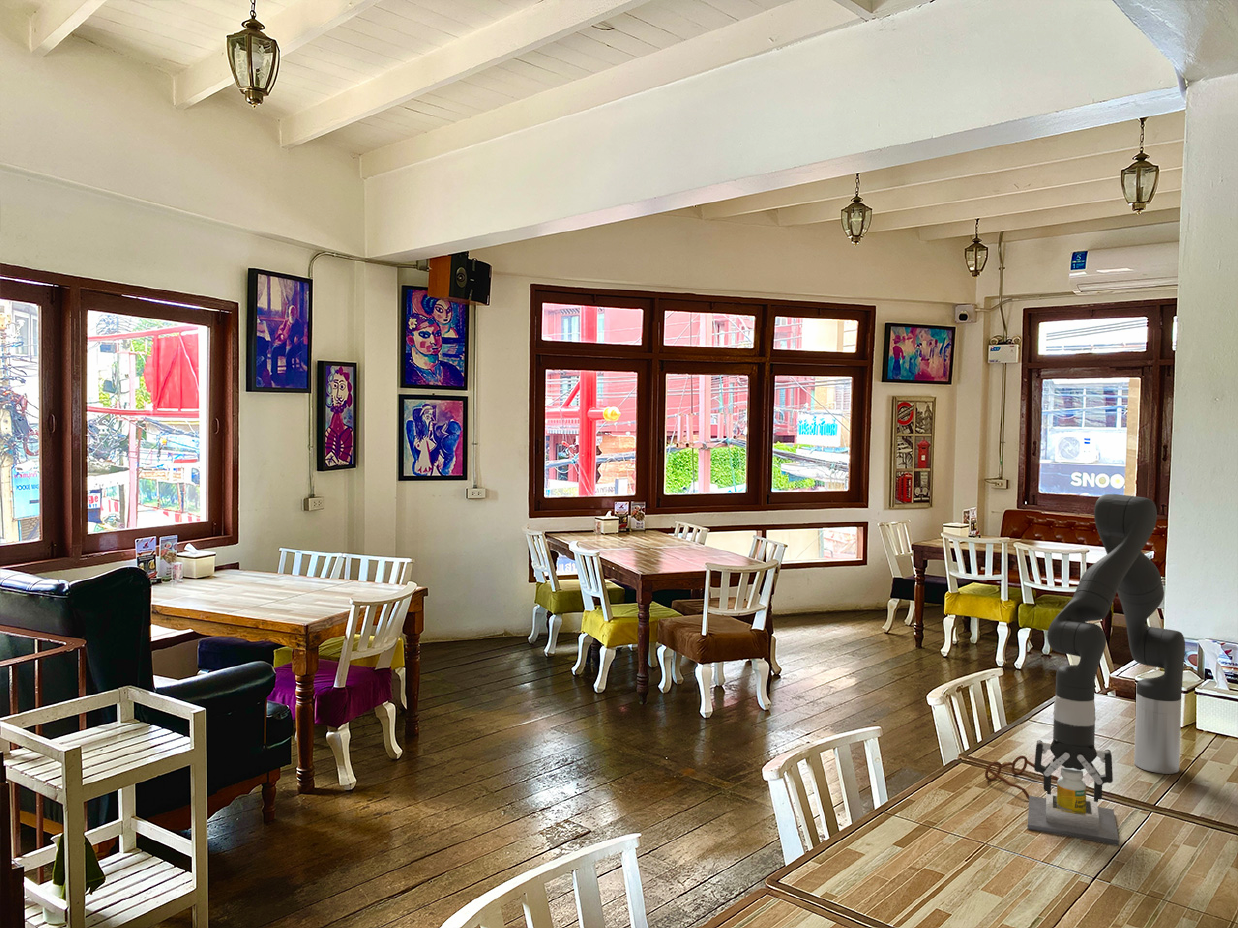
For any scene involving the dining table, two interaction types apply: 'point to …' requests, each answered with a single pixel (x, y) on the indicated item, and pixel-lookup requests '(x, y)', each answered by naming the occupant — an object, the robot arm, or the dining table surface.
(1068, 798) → the supplement bottle
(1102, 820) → the mount
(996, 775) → the glasses
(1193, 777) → the dining table surface
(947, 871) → the dining table surface
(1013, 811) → the dining table surface
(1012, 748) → the dining table surface
